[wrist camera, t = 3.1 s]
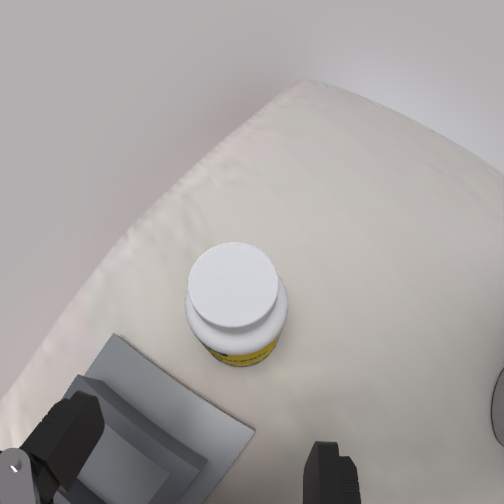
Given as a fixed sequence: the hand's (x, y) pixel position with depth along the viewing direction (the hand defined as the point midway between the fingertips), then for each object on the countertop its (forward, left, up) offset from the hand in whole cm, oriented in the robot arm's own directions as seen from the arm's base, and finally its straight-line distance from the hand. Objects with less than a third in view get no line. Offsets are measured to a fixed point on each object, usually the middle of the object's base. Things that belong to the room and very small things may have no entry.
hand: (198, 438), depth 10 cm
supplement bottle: (-3, -6, -11) cm, 13 cm away
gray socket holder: (+8, +2, -11) cm, 14 cm away
